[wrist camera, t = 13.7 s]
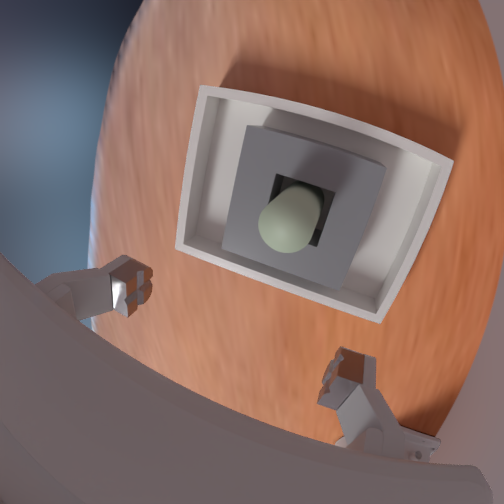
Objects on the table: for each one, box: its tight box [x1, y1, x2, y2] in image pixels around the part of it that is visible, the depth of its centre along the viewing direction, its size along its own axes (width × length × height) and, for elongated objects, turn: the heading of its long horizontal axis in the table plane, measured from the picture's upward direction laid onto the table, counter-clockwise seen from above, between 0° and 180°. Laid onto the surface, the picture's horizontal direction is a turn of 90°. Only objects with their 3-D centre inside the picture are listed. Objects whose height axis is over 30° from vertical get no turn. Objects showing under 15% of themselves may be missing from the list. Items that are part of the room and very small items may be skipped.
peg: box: [258, 180, 324, 253], centre depth 24 cm, size 4×4×9 cm
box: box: [175, 85, 454, 324], centre depth 27 cm, size 24×18×6 cm
